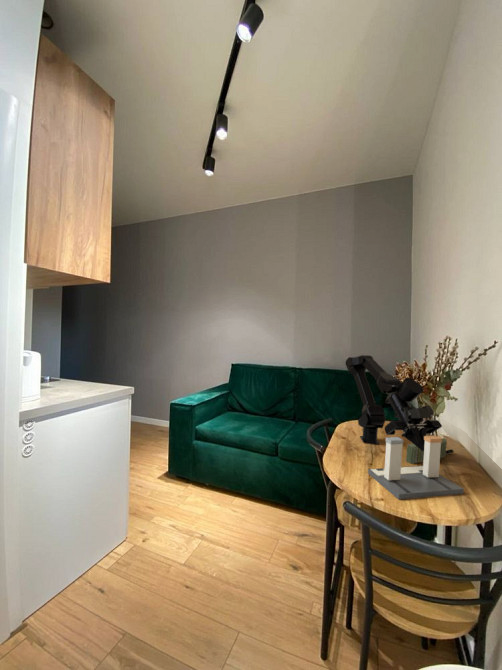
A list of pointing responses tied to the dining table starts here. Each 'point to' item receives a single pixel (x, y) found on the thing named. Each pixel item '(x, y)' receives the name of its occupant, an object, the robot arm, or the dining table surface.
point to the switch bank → (415, 484)
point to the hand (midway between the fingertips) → (426, 452)
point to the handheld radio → (418, 456)
